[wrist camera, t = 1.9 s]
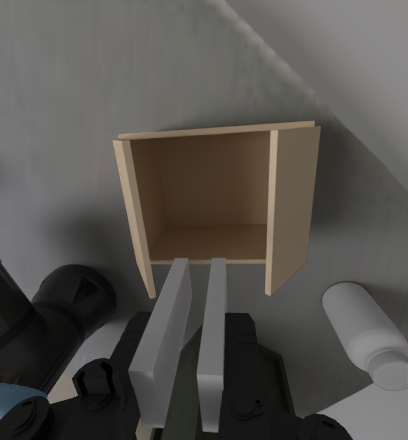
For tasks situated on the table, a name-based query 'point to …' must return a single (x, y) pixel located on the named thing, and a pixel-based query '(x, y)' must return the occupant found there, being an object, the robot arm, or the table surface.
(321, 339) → the table surface
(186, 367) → the first aid box
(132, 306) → the table surface
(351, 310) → the pill bottle
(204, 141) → the carton
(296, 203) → the flap
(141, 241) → the flap
